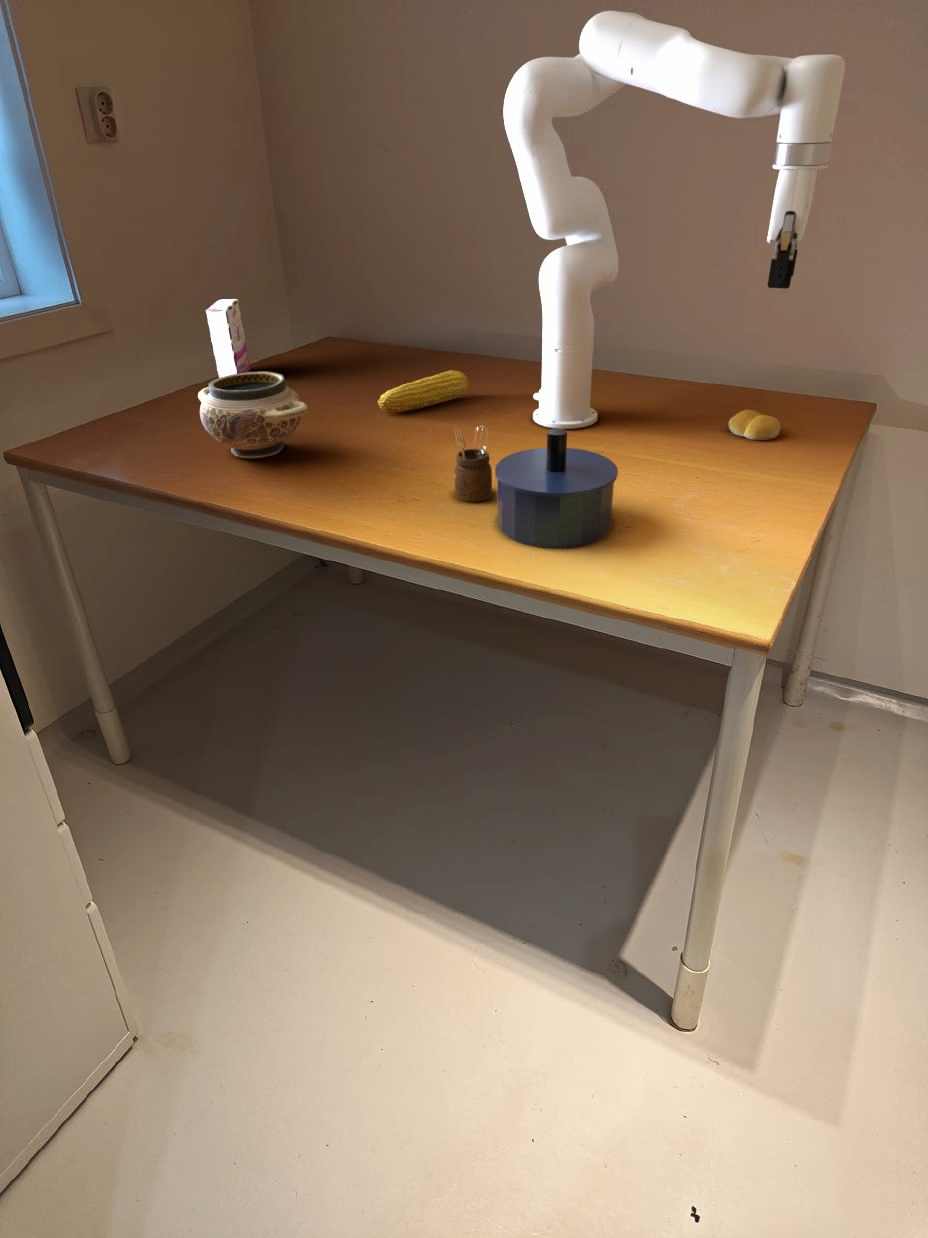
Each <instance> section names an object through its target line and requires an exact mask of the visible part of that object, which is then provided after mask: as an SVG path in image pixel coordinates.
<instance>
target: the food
mask: <svg viewBox="0 0 928 1238" xmlns="http://www.w3.org/2000/svg"><path fill="white" fill-rule="evenodd" d="M468 381H469V380H468V377H467V376H466V375H465V373H463V372H461V371H459V370H452V369H450V370H448V371H443V372H442V373H441V372H440V373H437V374H435V375H431V376H427V377H424V378H421V379H418V380H417V379H416V380H415V381H412V382H407V383H406V384H405V383H403V384H401V385H399V386H396V387H393V388H391V389H389V390H387V391H386V392H385V393H383V394H382V395H380V397H379V399H378V400H377V406H378V407H379V408H380V410H382V411H384V412H385V413H387V412H388V413H402V412H407V411H413V410H418V409H423V408H428V407H431V406H434V405H436V404H441V403H445V402H448V401H451V400H455V399H458V398H459V397H461V396H464V395H465V394H466V393H467V392H468V391H467V390H468V387H469V382H468Z"/></svg>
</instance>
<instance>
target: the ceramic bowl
mask: <svg viewBox="0 0 928 1238" xmlns="http://www.w3.org/2000/svg"><path fill="white" fill-rule="evenodd" d="M197 397H198V400H199V401H200V402H201V404H200V407H199V416H200V420H201V424H202V426H203V427H204V429H205V430H206V432H208V434H209V435H210V436H211V437H213V438H214V439H215V440H216V441H218V442H219V443H221V444H223V445H224V446H226V447H229V448H230V452H231V453H232V454H233V455H234V456H236V457H237V458H241V459H261V458H262V459H263V458H266V457H271V456H274V455H276V454H278V453H280V452H281V451H282V450H283V449H284V448H285V444H284V441H285V440H287V439H288V438H289V437H290V436H292V434H293V433H294V432H295V430H296V429H297V427H298V426H299V425H300V422H301V419H302V416H304V415H306V414H307V413H308V411H309V408H308V405H307V404H306V403H305V402H303V401H302V400H301V398H300V396H299V395H298V394H297V392H296V391H295V390H294V389H292V388H291V387H289V386H287V384H286V378H285V376H284V375H283V374H281V373H278V372H273V371H265V370H264V371H249V372H246V373H238V374H233V375H228V376H224V377H220V378H219V377H217V378H215V379H213V380H211V381H210V382H209V383H208V387H204V388H202V389H201V390H200V391H199V392H198V394H197Z"/></svg>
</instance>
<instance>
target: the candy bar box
mask: <svg viewBox="0 0 928 1238" xmlns="http://www.w3.org/2000/svg"><path fill="white" fill-rule="evenodd" d="M240 308H241V307H240V302H239V299H238V298H237V299H236V298H231V299H230V298H228V299H218V300H217V301H216V302H214V303H213V304H212V305H211V306H210V307H208V308H207V309H206V310H205V313H206V318H207V319H206V320H207V324H208V328H209V333H210V338H211V343H212V349H213V354H214V359H215V365H216V370H217V374H218V378H220V377H224V376H228V375H233V374H238V373H246V372H250V370H251V366H250V365H251V364H250V359H249V354H248V348H247V342H246V337H245V330H244V326H243V325H244V324H243V319H242V314H241V309H240Z"/></svg>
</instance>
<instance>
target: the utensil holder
mask: <svg viewBox="0 0 928 1238" xmlns="http://www.w3.org/2000/svg"><path fill="white" fill-rule="evenodd" d="M483 428H484V429H485V434H487V435H485V437H484V438H485V439H484V441H486V443H484V445H483V448H482V449H481V446H482V444H481V442H479V444H478V448H477V444H476V443H477V440H474V444H472V445H473V447H474V448H467V449H465V448H466V447H467V445H466V442H465V437H464V434H463V429H459V428H456V427H454V428H453V432H454V435H455V440H456V445H457V446H458V447H459V448H460V451H458V452H457V453H456V458H455V462H456V465H455V466H454V492H455V496H456V498H457V499H458V500H460V501H463V502H467V503H479V502H483V501H486V500H488V499H490V497H491V495H492V492H493V471H492V466H491V464H490V454H489V452H488V451H486V448H487V446H488V443H489V441H487V440H488V436H489V433H490V432H488V428H487V427H486V426H484V425H479V426H477V427H476V428H475V430H474V431H473V432H474V435H472V436H473V437H472V438H473V439H475V437H477V434H478V433H476V432H478V431H479V429H480V430H483ZM479 434H480V436H479V438H480V439H482V437H483V435H482V433H479ZM474 436H475V437H474Z"/></svg>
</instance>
